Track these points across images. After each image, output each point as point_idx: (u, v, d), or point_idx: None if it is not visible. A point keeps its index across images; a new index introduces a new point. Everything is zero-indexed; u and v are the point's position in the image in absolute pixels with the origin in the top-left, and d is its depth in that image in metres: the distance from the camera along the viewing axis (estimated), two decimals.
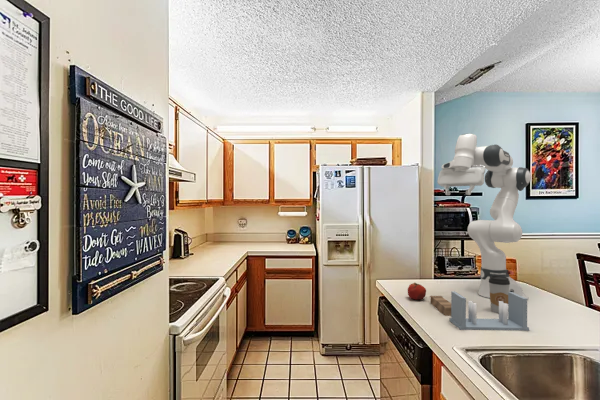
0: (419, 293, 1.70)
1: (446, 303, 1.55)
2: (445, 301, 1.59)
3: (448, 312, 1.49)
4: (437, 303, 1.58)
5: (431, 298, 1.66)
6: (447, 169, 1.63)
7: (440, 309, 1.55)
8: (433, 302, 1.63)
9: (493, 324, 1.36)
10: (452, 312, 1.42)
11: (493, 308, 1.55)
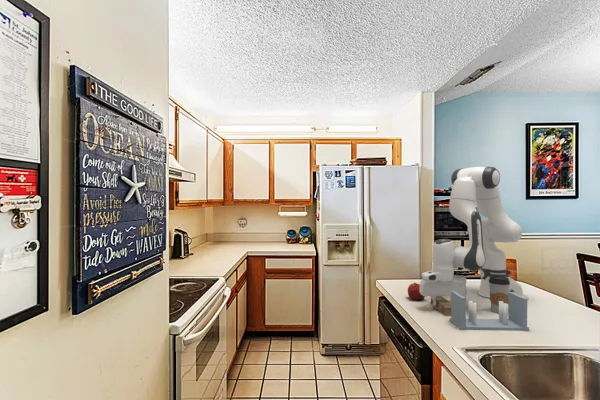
0: (419, 293, 1.70)
1: (446, 303, 1.55)
2: (445, 300, 1.59)
3: (448, 312, 1.49)
4: None
5: (431, 298, 1.66)
6: (433, 281, 1.56)
7: (440, 309, 1.55)
8: None
9: (493, 324, 1.36)
10: (452, 312, 1.42)
11: (493, 308, 1.55)
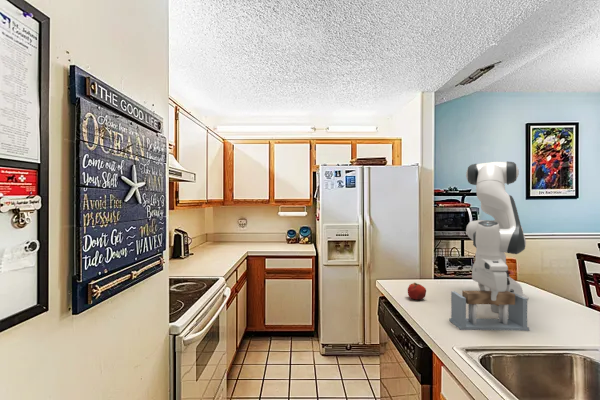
0: (419, 293, 1.70)
1: None
2: (485, 291, 1.39)
3: None
4: None
5: (471, 296, 1.36)
6: None
7: (501, 300, 1.36)
8: (478, 299, 1.36)
9: (493, 324, 1.36)
10: (452, 312, 1.42)
11: (493, 308, 1.55)
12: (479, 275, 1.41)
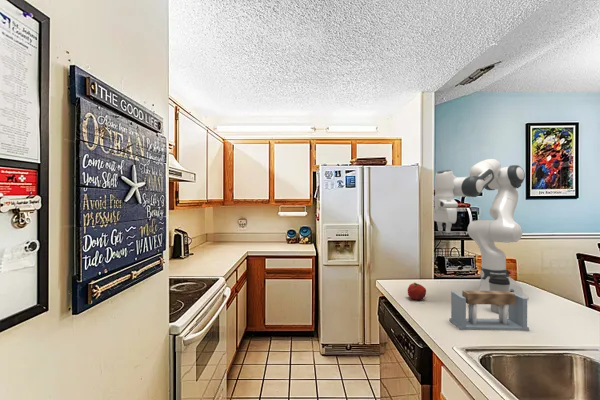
0: (419, 293, 1.70)
1: (496, 292, 1.38)
2: (485, 291, 1.39)
3: None
4: (491, 296, 1.36)
5: (471, 296, 1.36)
6: None
7: (501, 300, 1.36)
8: (478, 299, 1.36)
9: (493, 324, 1.36)
10: (452, 312, 1.42)
11: (493, 308, 1.55)
12: (438, 215, 1.73)
